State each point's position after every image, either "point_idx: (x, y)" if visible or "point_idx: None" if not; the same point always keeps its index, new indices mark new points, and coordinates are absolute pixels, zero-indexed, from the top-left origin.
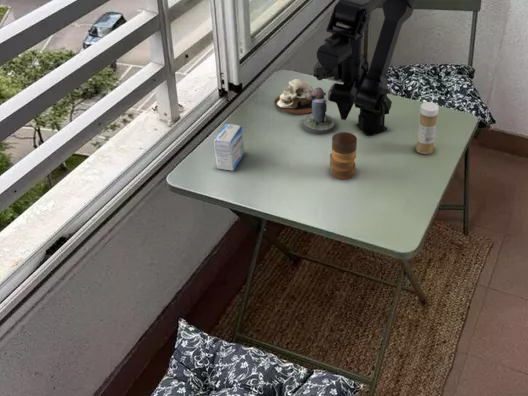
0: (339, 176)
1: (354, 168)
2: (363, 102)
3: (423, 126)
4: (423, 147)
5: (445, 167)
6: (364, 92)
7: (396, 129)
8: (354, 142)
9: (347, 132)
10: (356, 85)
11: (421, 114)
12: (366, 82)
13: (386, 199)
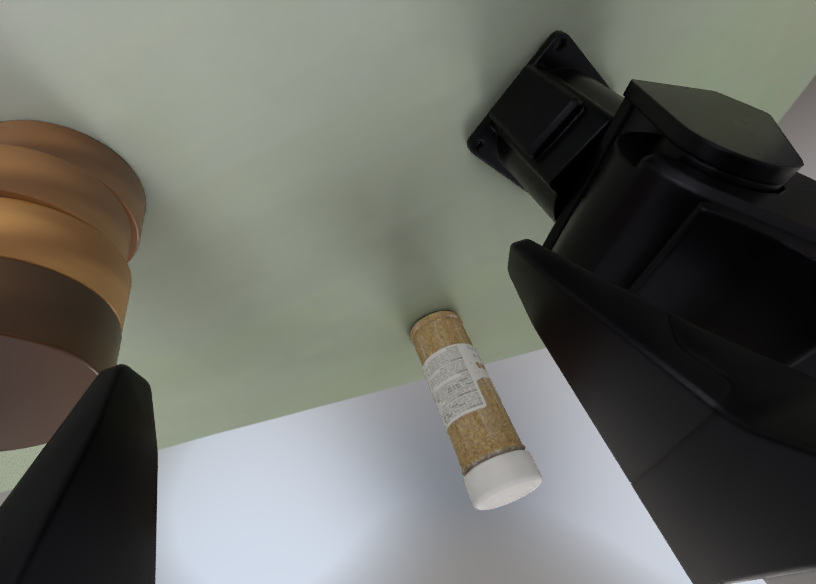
0: None
1: None
2: (585, 236)
3: (448, 425)
4: (418, 355)
5: (372, 386)
6: (649, 295)
7: (543, 212)
8: (14, 448)
9: (86, 367)
10: (639, 445)
11: (477, 461)
12: (752, 344)
13: None
